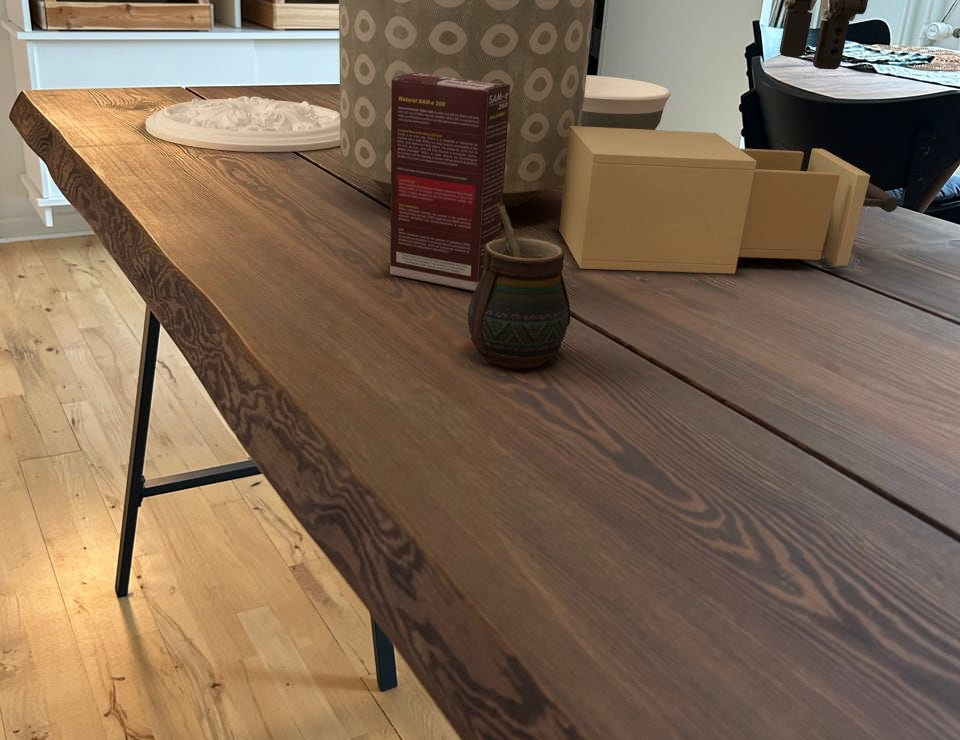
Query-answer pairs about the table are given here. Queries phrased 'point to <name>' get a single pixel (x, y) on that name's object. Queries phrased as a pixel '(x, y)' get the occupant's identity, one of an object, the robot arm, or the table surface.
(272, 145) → the ceiling medallion
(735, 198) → the cabinet
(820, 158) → the drawer
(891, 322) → the table surface
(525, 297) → the mate gourd
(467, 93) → the supplement box
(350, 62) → the planter
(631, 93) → the bowl
